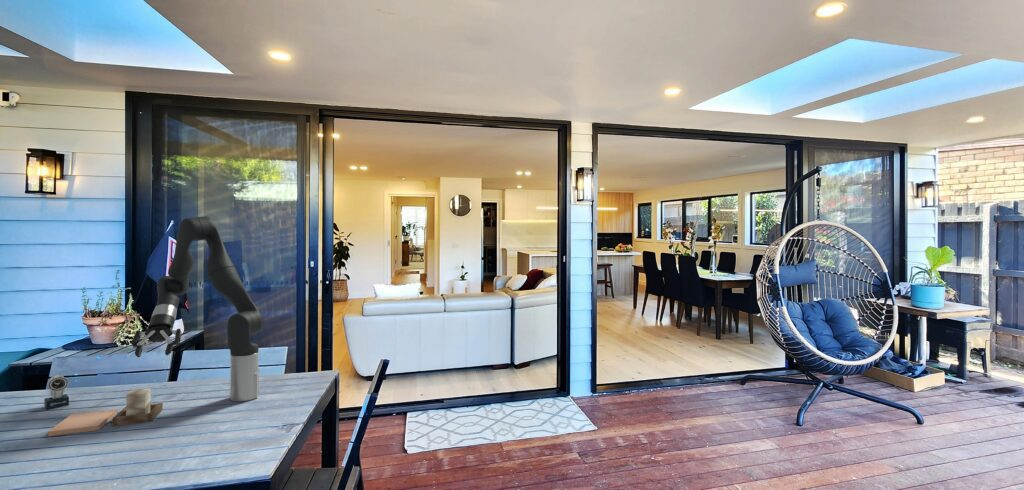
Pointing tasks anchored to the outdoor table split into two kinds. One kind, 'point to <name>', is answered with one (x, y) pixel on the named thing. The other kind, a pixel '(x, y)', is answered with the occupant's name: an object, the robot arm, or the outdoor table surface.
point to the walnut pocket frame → (137, 416)
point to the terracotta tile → (83, 422)
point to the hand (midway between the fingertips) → (152, 355)
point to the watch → (57, 393)
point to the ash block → (138, 402)
